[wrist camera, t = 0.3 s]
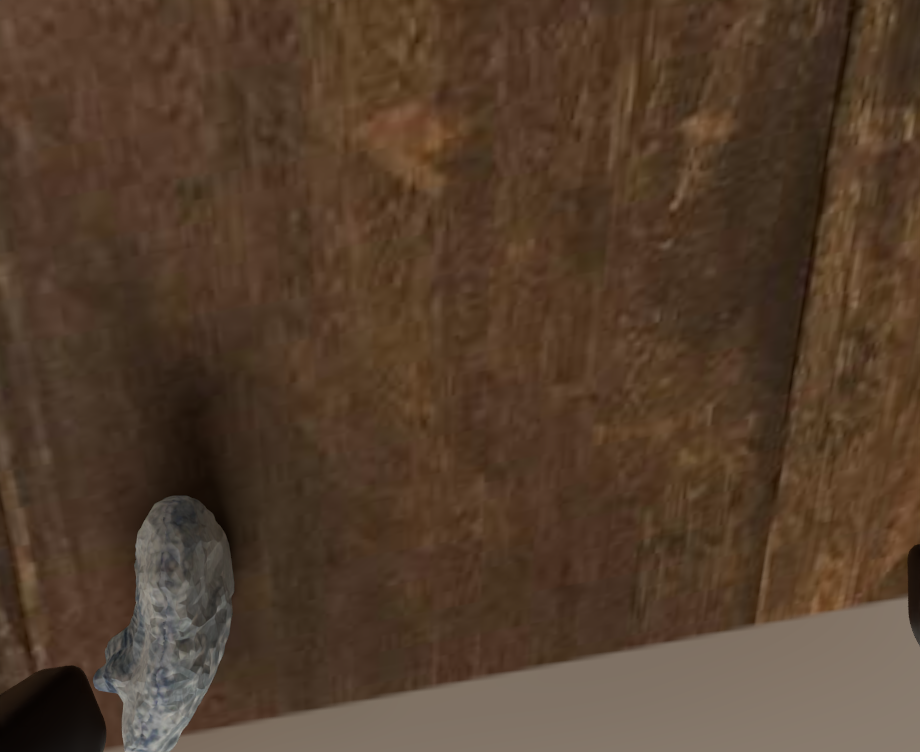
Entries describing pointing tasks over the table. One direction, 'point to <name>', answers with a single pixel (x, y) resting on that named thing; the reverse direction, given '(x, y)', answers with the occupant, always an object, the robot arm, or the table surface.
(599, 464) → the table surface
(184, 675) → the fossil
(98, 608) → the table surface
